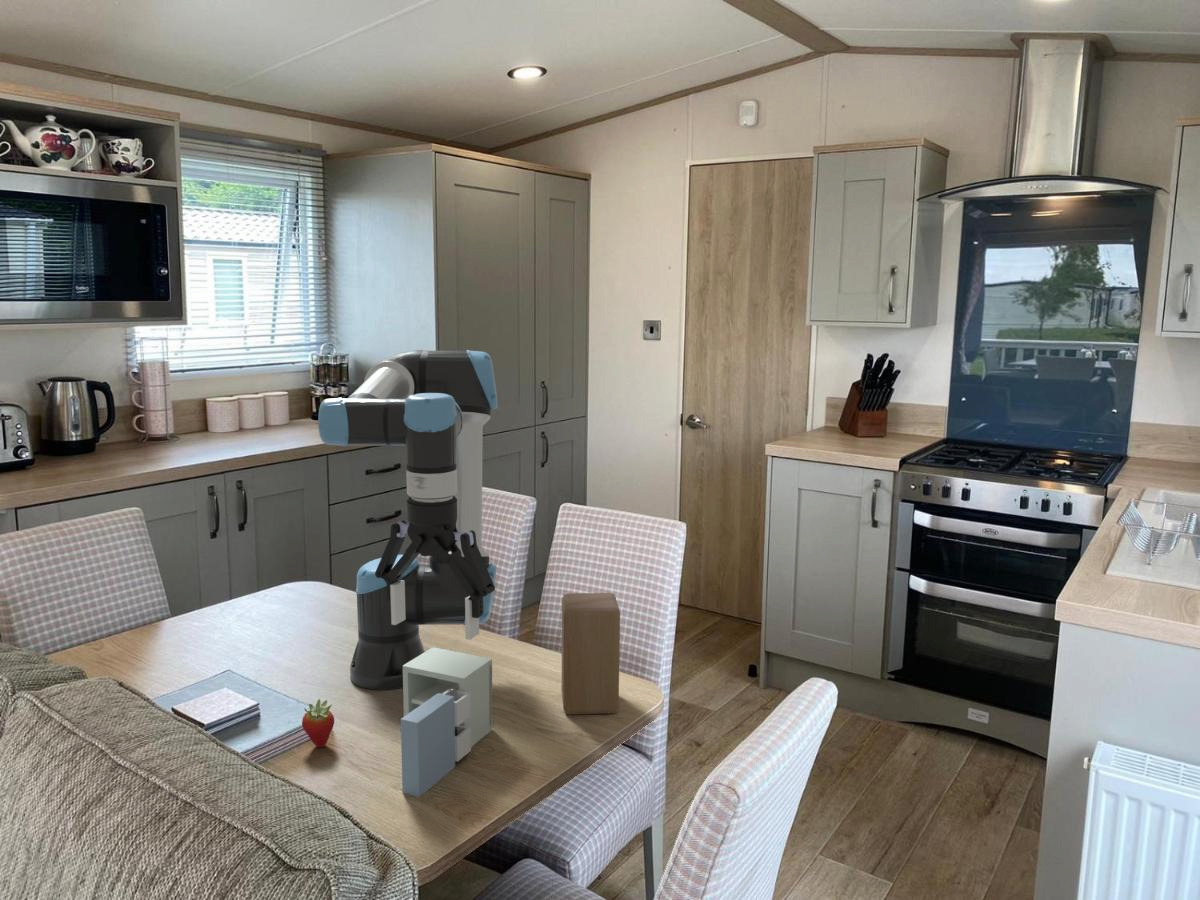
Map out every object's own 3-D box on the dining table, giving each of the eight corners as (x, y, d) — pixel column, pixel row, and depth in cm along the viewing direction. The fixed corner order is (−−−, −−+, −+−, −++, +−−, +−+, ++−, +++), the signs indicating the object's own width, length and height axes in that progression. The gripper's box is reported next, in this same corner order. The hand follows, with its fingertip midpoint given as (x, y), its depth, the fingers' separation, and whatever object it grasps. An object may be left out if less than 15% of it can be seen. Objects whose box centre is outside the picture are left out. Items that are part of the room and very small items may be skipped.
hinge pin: (445, 760, 152) (444, 690, 150) (457, 750, 155) (456, 682, 153) (456, 762, 151) (454, 692, 149) (467, 753, 154) (466, 684, 152)
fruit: (305, 756, 152) (303, 710, 151) (301, 742, 157) (299, 697, 156) (337, 750, 154) (335, 705, 153) (332, 736, 159) (331, 692, 158)
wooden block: (561, 692, 177) (561, 591, 174) (613, 691, 178) (615, 591, 175) (563, 716, 168) (564, 610, 164) (619, 715, 168) (620, 609, 165)
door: (399, 792, 142) (397, 718, 140) (450, 751, 155) (449, 682, 153) (421, 798, 141) (420, 723, 139) (470, 756, 153) (470, 687, 151)
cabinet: (404, 737, 159) (402, 665, 157) (434, 716, 167) (432, 647, 165) (464, 752, 154) (464, 678, 152) (492, 729, 162) (492, 658, 160)
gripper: (349, 492, 143) (354, 624, 147) (491, 511, 133) (492, 651, 137) (379, 482, 150) (383, 608, 154) (516, 500, 140) (517, 634, 144)
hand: (434, 629), depth 145 cm, fingers open, 13 cm apart
